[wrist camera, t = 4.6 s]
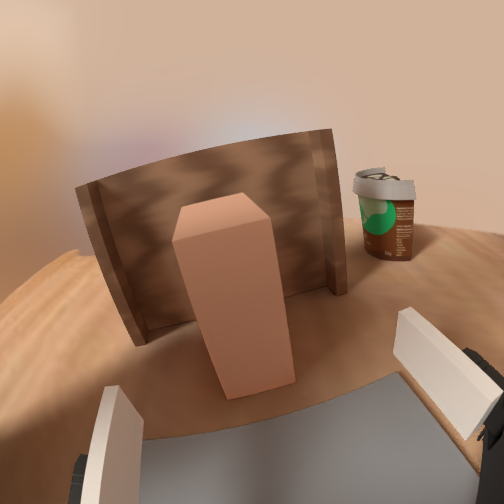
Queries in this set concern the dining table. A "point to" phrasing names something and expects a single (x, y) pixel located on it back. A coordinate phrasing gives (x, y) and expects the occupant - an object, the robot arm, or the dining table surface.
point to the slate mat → (317, 457)
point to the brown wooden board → (207, 188)
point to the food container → (386, 213)
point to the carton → (236, 292)
